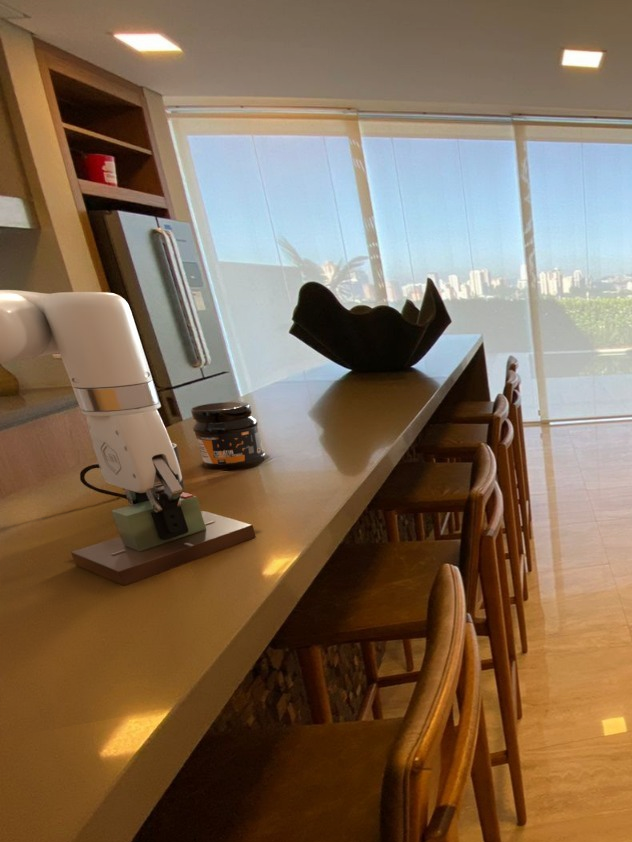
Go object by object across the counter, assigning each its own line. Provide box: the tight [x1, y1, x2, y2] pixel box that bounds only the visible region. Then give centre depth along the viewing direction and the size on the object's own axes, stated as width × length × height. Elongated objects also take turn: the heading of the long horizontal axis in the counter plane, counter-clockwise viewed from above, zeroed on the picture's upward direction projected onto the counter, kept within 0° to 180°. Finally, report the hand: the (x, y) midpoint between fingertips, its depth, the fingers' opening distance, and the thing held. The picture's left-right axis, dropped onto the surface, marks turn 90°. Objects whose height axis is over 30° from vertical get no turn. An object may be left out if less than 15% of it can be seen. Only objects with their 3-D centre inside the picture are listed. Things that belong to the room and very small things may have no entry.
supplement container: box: [190, 401, 267, 472], centre depth 112 cm, size 10×10×12 cm
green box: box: [110, 492, 206, 551], centre depth 76 cm, size 8×4×5 cm, turn 154°
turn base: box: [70, 510, 257, 586], centre depth 77 cm, size 16×12×2 cm
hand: (164, 531), depth 77 cm, fingers closed on green box, 4 cm apart
